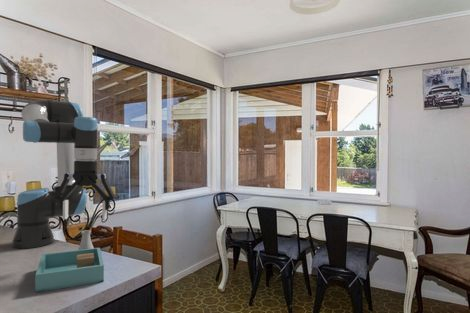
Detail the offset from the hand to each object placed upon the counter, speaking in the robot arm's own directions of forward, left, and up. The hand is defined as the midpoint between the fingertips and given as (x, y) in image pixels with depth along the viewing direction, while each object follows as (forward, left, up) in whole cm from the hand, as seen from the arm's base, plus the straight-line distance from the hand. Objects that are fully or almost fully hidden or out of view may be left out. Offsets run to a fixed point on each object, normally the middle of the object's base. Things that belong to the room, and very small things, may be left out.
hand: (85, 218), depth 114 cm
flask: (-5, 0, -16) cm, 17 cm away
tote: (+11, -4, -16) cm, 20 cm away
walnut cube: (+11, 0, -15) cm, 19 cm away
